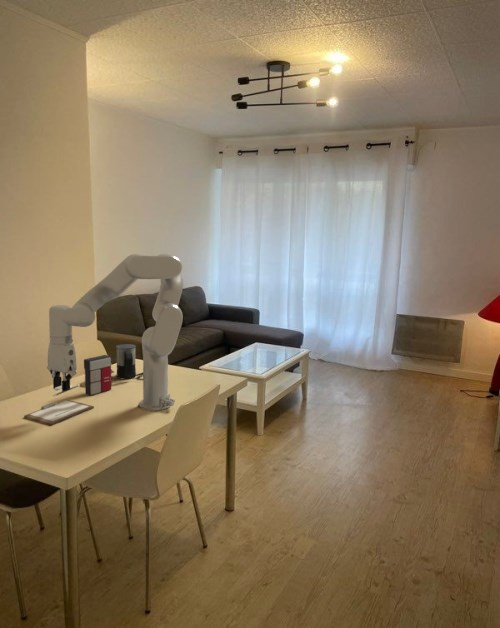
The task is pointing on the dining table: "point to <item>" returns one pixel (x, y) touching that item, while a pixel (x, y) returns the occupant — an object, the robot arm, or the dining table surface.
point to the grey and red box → (97, 374)
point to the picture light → (63, 391)
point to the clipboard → (58, 412)
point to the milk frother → (126, 361)
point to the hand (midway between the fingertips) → (61, 388)
